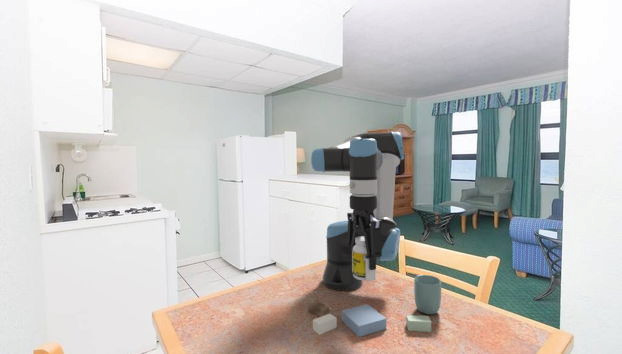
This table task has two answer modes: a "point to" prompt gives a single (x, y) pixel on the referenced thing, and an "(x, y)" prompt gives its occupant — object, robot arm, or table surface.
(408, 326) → the sage brick
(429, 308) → the cup
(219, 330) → the table surface
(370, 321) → the slab
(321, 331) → the cream brick
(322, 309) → the walnut brick
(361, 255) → the pill bottle
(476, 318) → the table surface
